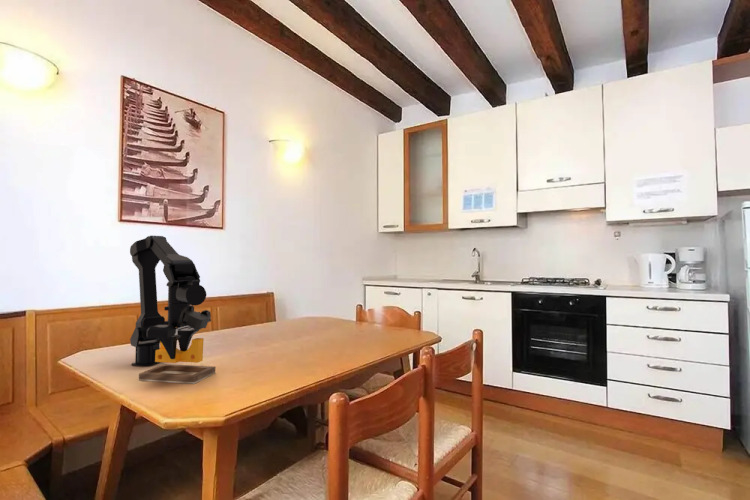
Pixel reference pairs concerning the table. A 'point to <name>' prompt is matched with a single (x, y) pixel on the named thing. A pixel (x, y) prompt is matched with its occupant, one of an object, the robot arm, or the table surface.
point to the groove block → (177, 373)
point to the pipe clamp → (182, 353)
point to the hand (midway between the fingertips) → (178, 356)
